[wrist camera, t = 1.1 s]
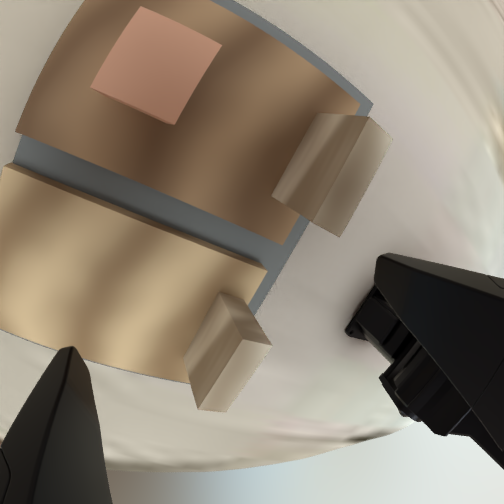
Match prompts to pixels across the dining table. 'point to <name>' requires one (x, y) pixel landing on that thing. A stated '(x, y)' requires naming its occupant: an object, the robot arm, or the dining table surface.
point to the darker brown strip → (215, 123)
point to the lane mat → (175, 210)
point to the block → (155, 65)
